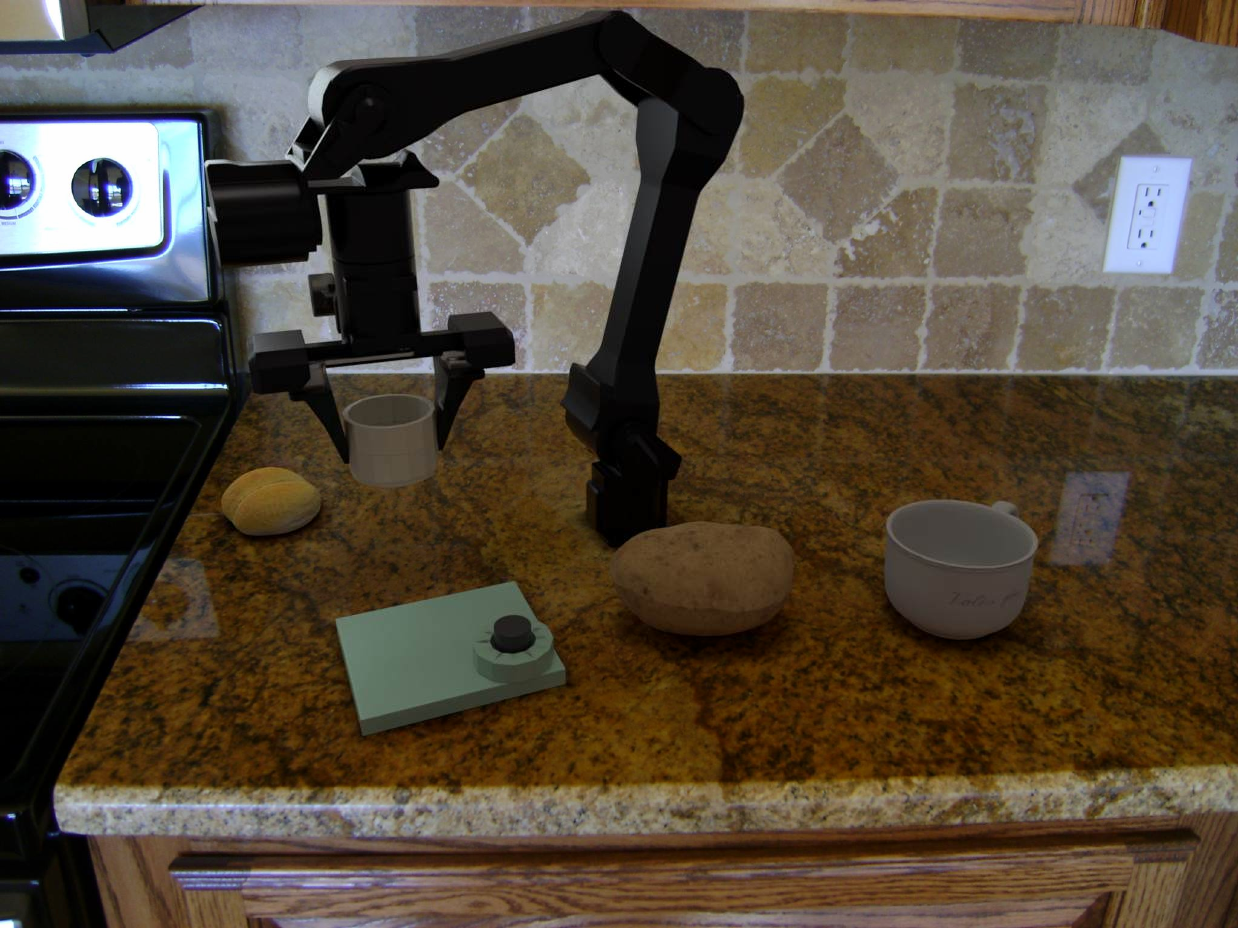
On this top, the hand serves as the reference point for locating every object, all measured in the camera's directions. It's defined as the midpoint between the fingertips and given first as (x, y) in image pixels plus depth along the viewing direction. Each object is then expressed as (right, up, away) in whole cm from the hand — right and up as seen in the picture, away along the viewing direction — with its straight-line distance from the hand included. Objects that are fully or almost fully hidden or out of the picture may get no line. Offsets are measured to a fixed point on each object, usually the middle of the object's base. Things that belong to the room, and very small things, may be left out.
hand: (394, 455), depth 73 cm
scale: (+5, -15, -5) cm, 16 cm away
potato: (+24, -13, 0) cm, 27 cm away
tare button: (+10, -13, -7) cm, 18 cm away
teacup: (+44, -13, +2) cm, 46 cm away
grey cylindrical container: (0, -1, +1) cm, 1 cm away
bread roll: (-15, -6, +14) cm, 21 cm away
